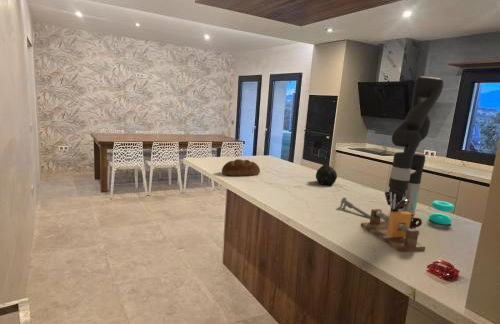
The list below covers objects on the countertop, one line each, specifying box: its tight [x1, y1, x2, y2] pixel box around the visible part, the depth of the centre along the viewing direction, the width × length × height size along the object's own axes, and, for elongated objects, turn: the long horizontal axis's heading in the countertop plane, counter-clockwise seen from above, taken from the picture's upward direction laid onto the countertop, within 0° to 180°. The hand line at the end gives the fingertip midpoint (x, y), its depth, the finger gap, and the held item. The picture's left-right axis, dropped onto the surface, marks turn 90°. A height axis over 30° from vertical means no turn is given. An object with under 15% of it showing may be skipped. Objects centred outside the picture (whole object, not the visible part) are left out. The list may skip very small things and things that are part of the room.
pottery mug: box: [410, 214, 423, 229], centre depth 149 cm, size 12×10×8 cm
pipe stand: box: [360, 208, 426, 253], centre depth 136 cm, size 26×12×8 cm, turn 14°
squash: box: [315, 163, 338, 186], centre depth 223 cm, size 14×15×15 cm
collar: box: [387, 211, 412, 237], centre depth 132 cm, size 3×8×10 cm, turn 104°
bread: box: [221, 158, 261, 177], centre depth 234 cm, size 16×29×11 cm, turn 113°
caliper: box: [340, 196, 371, 219], centre depth 165 cm, size 20×1×6 cm, turn 35°
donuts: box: [428, 200, 455, 226], centre depth 160 cm, size 10×10×10 cm
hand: (393, 216), depth 135 cm, fingers closed
